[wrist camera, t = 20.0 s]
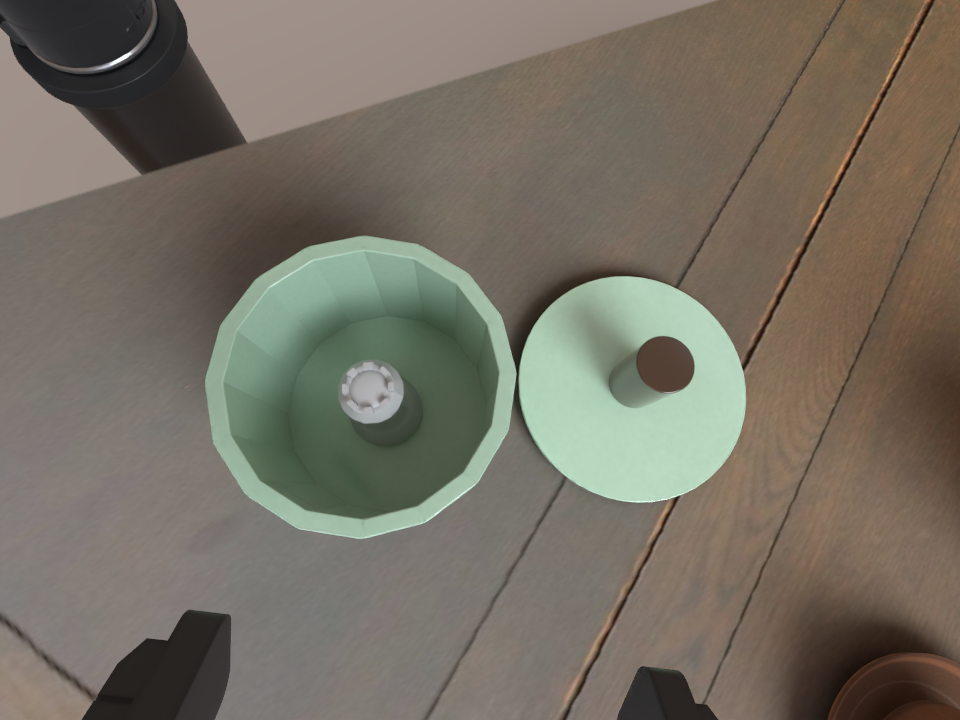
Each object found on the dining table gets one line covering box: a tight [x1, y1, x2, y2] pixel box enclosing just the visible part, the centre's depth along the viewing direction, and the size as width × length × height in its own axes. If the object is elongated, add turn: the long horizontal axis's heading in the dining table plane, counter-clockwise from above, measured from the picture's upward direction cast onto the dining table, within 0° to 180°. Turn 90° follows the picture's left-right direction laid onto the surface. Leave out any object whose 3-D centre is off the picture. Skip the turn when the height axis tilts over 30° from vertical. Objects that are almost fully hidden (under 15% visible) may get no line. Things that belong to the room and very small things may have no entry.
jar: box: [205, 235, 517, 539], centre depth 30 cm, size 14×14×10 cm
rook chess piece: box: [338, 359, 422, 446], centre depth 30 cm, size 4×4×8 cm
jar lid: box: [518, 276, 746, 503], centre depth 33 cm, size 15×15×7 cm
